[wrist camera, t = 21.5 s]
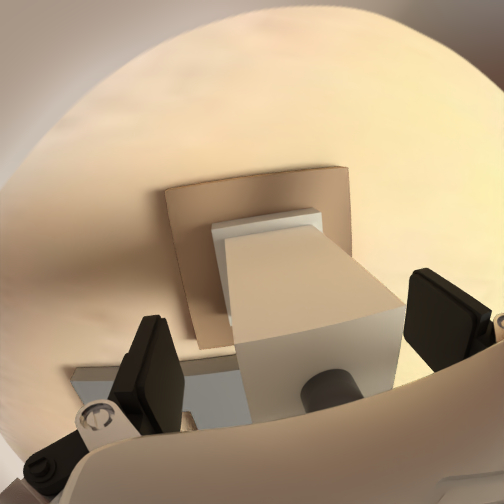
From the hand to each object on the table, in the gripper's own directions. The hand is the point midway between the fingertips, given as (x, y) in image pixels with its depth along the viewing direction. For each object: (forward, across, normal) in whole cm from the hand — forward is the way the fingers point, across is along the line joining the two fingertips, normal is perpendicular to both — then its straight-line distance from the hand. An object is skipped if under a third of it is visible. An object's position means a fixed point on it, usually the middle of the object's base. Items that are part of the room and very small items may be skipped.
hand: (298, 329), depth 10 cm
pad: (+6, 0, 0) cm, 6 cm away
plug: (+5, 0, -1) cm, 5 cm away
